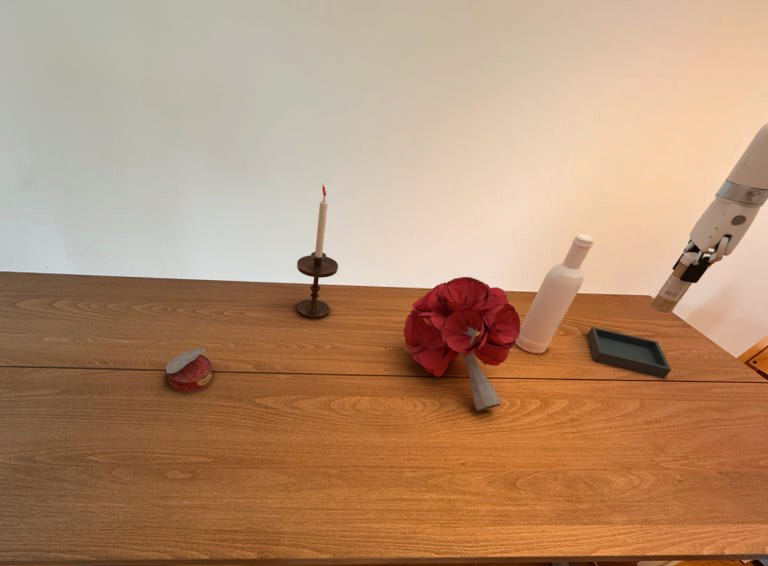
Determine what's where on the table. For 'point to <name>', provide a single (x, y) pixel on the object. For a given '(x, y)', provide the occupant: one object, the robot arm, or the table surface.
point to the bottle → (554, 298)
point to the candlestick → (317, 269)
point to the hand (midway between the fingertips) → (684, 275)
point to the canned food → (189, 371)
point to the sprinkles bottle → (674, 286)
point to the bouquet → (463, 331)
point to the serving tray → (628, 352)
